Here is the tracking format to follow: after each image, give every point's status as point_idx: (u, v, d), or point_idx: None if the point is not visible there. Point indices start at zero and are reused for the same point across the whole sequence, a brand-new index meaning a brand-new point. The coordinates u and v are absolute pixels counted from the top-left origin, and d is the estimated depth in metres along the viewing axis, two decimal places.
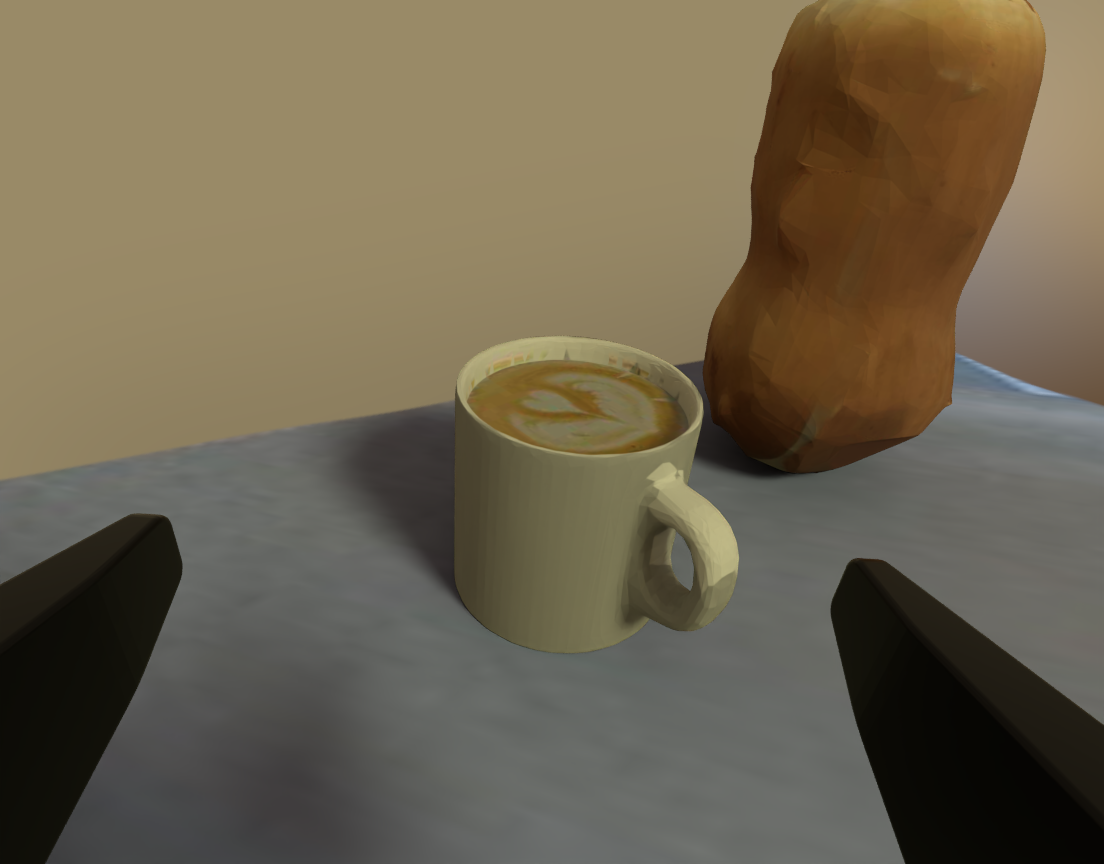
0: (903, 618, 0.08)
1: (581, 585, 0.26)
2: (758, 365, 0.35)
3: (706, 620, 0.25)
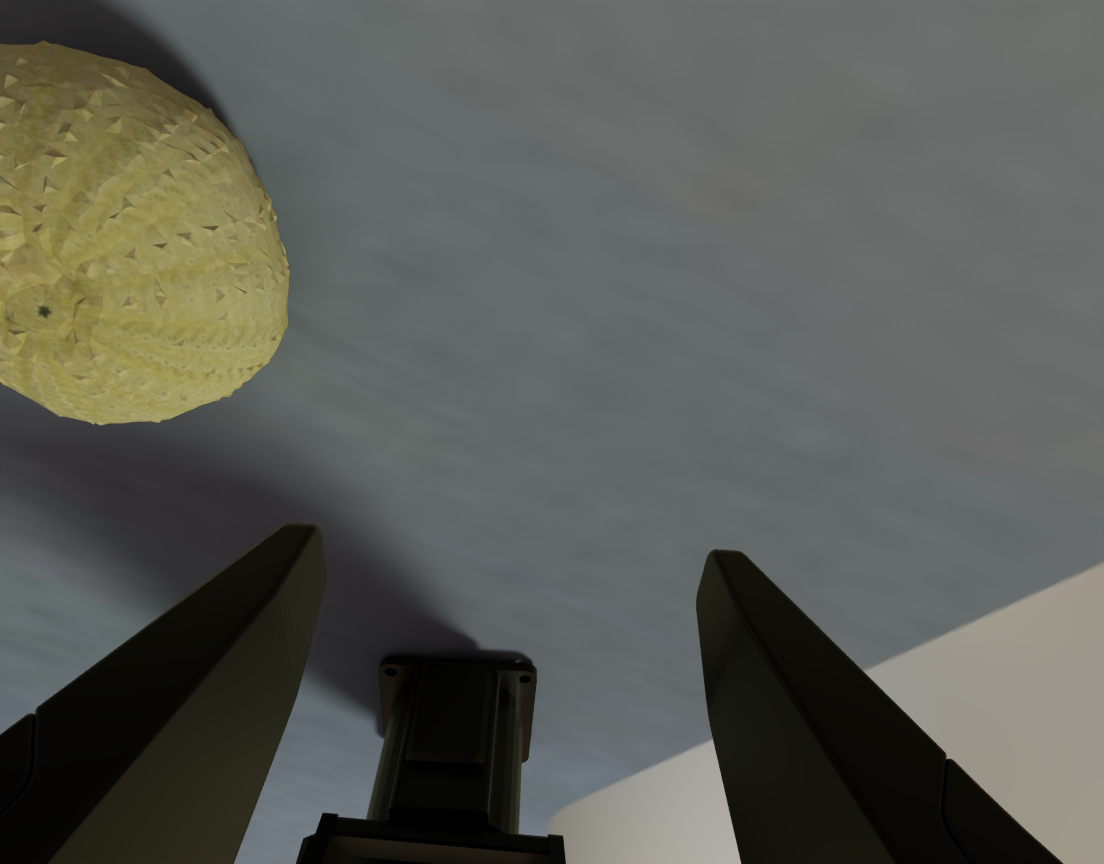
0: (740, 609, 0.08)
1: None
2: None
3: None
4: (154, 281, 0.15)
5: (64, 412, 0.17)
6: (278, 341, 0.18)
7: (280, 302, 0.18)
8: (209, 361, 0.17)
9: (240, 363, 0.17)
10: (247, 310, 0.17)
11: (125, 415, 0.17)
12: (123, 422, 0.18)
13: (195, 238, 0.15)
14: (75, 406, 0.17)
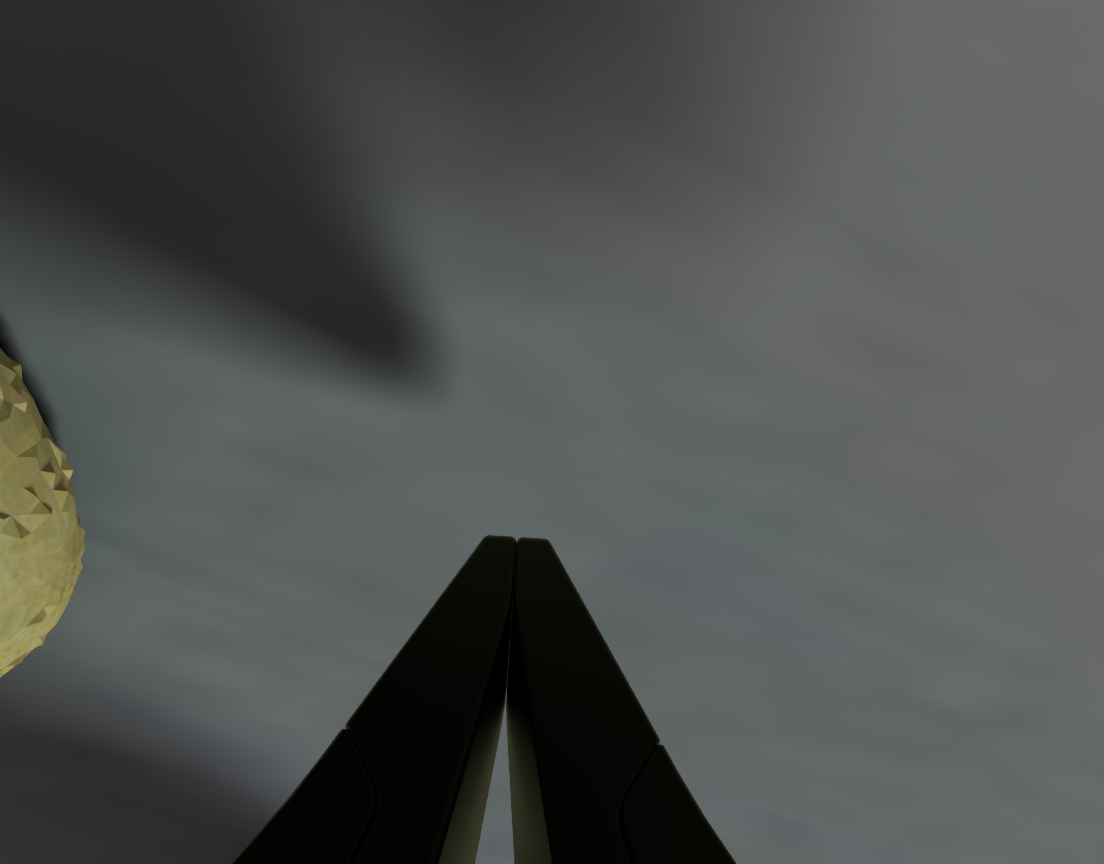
0: (517, 596, 0.07)
1: None
2: None
3: None
4: None
5: None
6: (54, 612, 0.10)
7: (41, 559, 0.09)
8: None
9: None
10: None
11: None
12: None
13: None
14: None
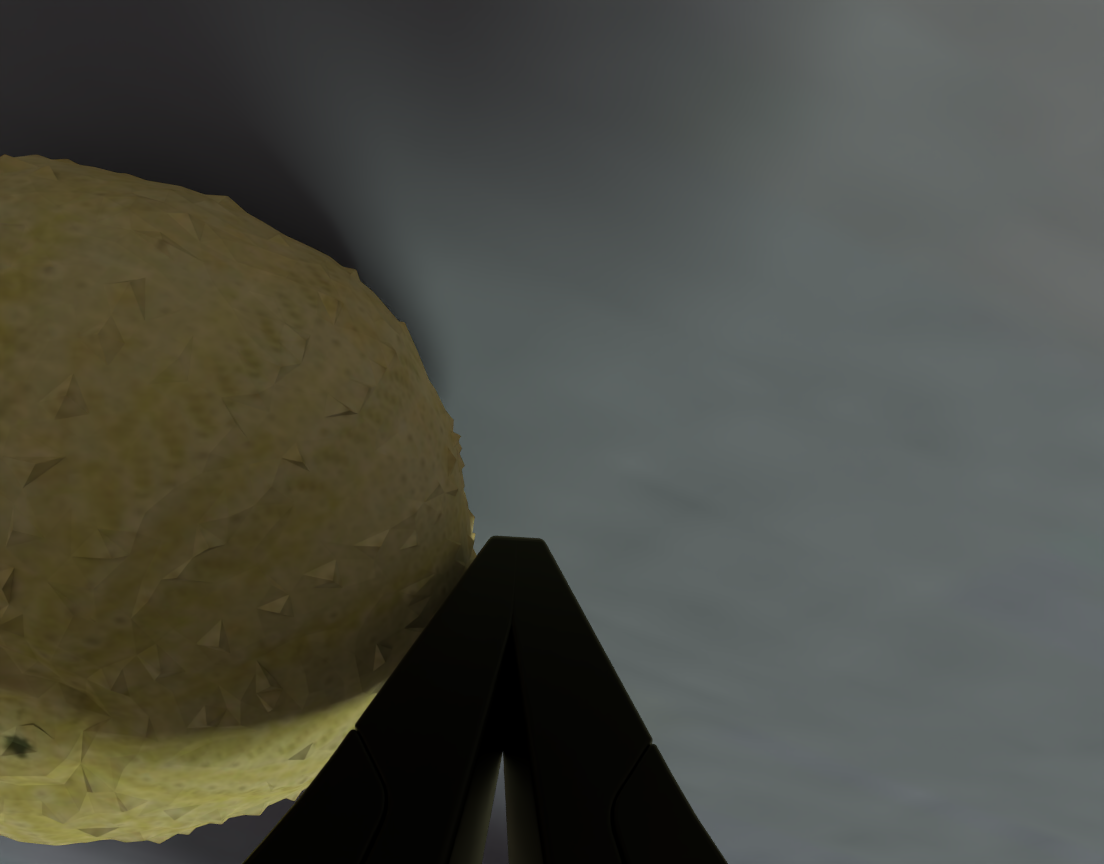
0: (511, 595, 0.07)
1: None
2: None
3: None
4: (258, 670, 0.07)
5: None
6: None
7: None
8: None
9: None
10: None
11: (181, 832, 0.09)
12: None
13: (343, 569, 0.07)
14: (86, 840, 0.09)
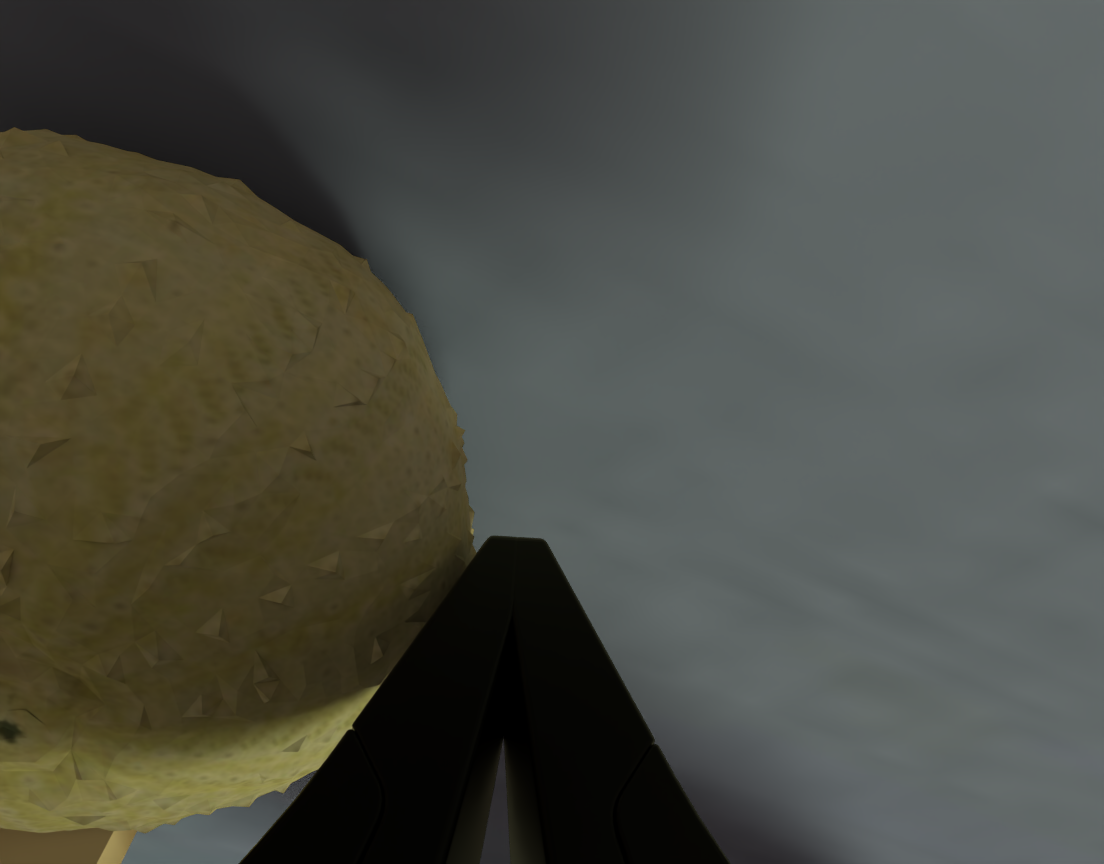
0: (513, 595, 0.07)
1: None
2: None
3: None
4: (257, 660, 0.07)
5: None
6: None
7: None
8: None
9: None
10: None
11: (167, 823, 0.09)
12: None
13: (345, 560, 0.07)
14: (69, 828, 0.09)
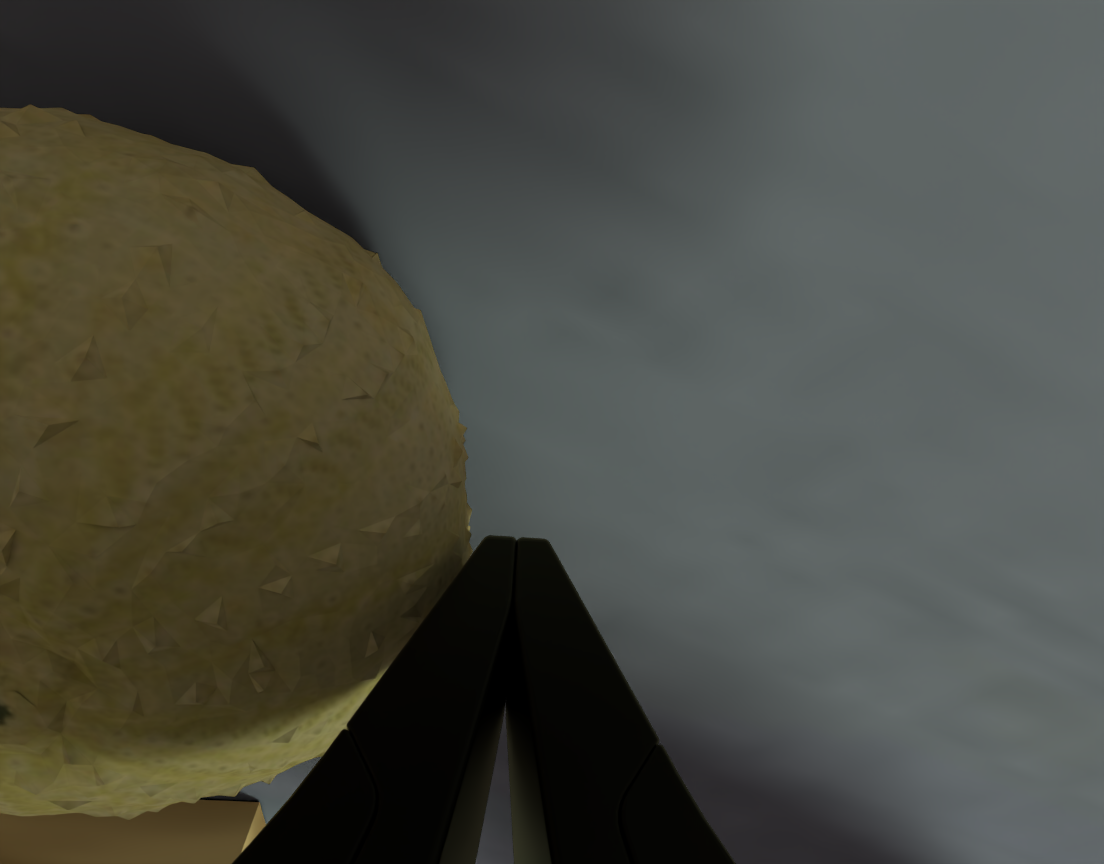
0: (516, 596, 0.07)
1: None
2: None
3: None
4: (253, 650, 0.07)
5: None
6: None
7: None
8: (331, 741, 0.08)
9: None
10: None
11: (150, 810, 0.09)
12: None
13: (346, 553, 0.07)
14: (52, 813, 0.08)
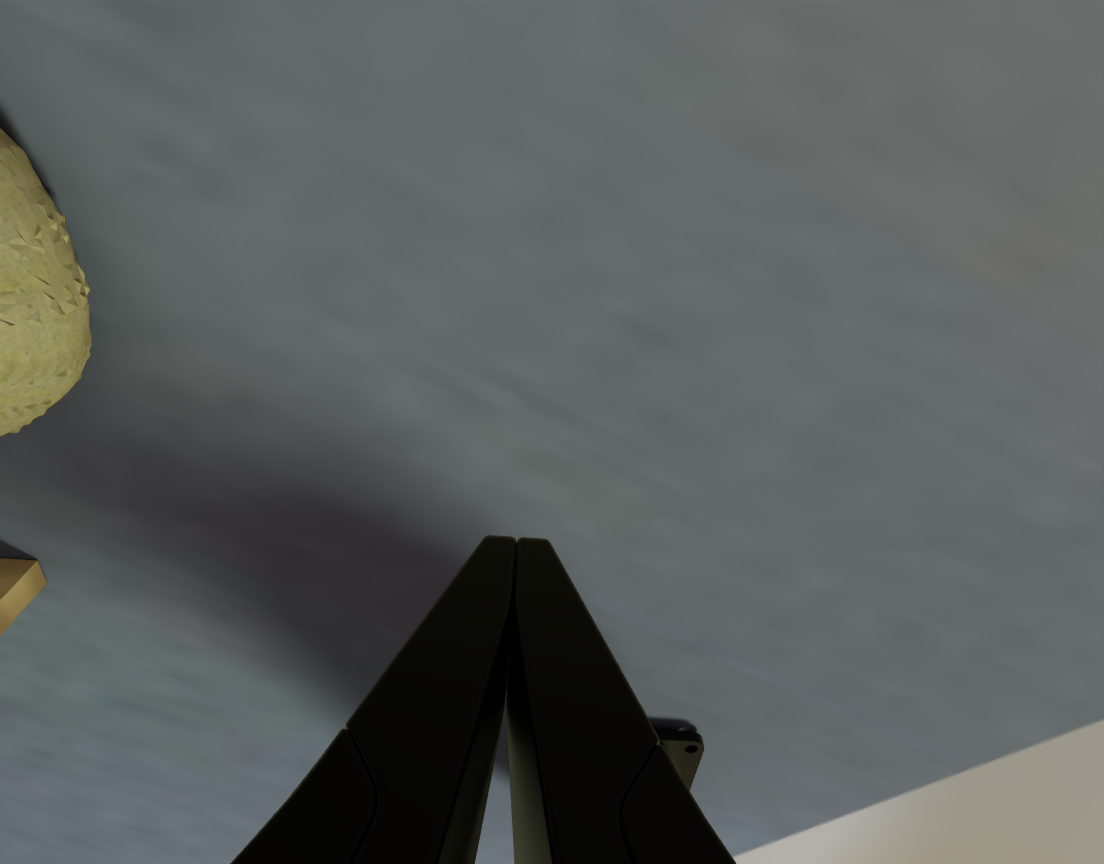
0: (517, 596, 0.07)
1: None
2: None
3: None
4: None
5: None
6: (71, 376, 0.16)
7: (69, 334, 0.15)
8: None
9: (13, 402, 0.15)
10: (16, 343, 0.14)
11: None
12: None
13: None
14: None
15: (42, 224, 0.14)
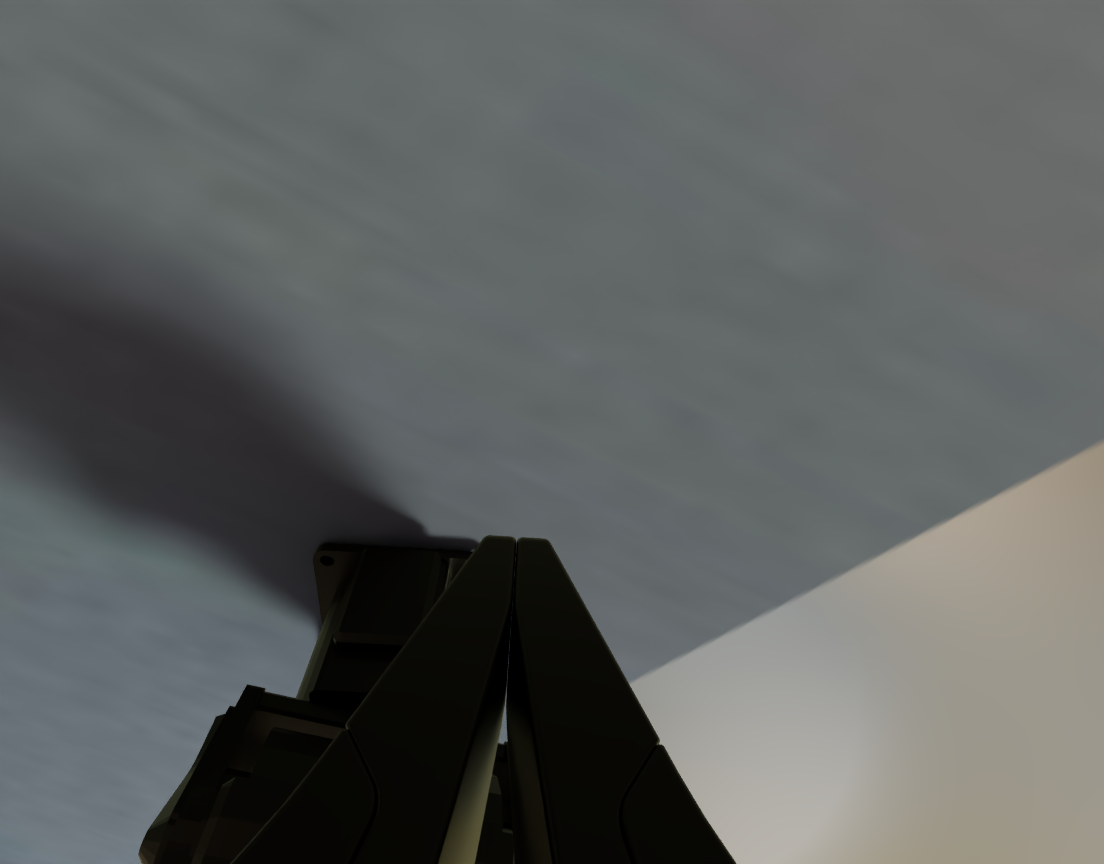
0: (517, 596, 0.07)
1: None
2: None
3: None
4: None
5: None
6: None
7: None
8: None
9: None
10: None
11: None
12: None
13: None
14: None
15: None
